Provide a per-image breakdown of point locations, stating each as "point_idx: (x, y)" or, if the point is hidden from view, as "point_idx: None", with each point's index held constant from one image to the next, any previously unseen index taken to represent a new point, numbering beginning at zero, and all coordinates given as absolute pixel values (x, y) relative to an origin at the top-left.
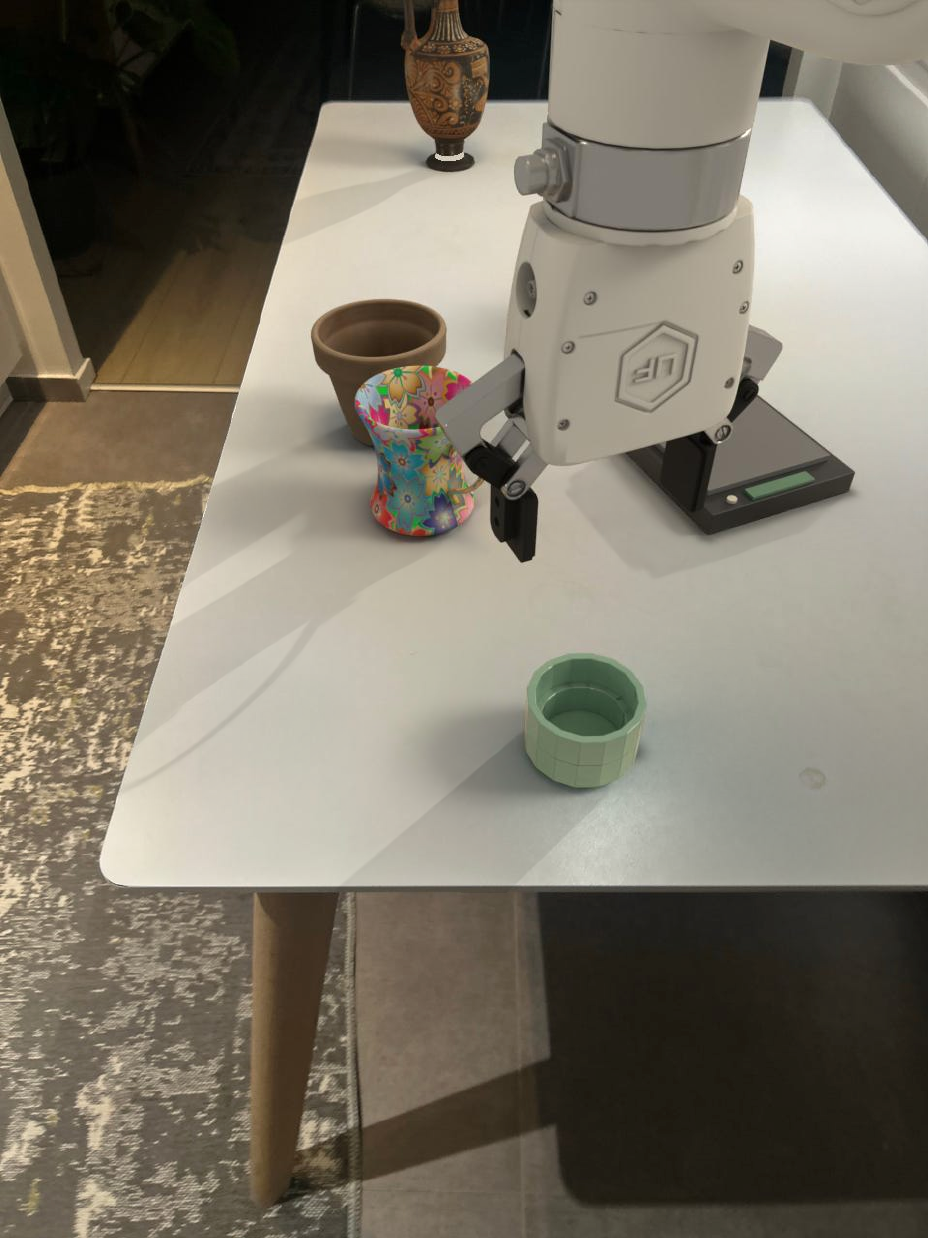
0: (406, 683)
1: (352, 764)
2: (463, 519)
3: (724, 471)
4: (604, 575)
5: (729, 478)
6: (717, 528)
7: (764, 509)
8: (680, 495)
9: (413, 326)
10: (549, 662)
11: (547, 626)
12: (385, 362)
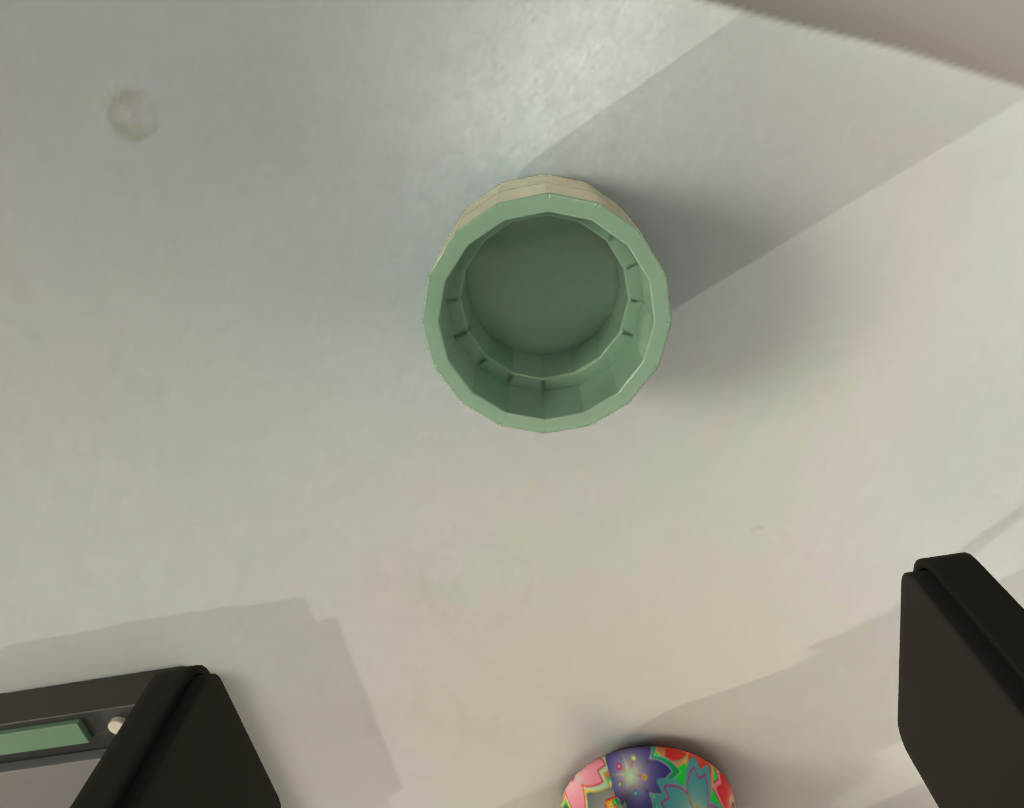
0: (790, 472)
1: (941, 328)
2: (593, 766)
3: None
4: (386, 619)
5: None
6: None
7: (67, 697)
8: (227, 745)
9: None
10: (592, 419)
11: (515, 538)
12: None
